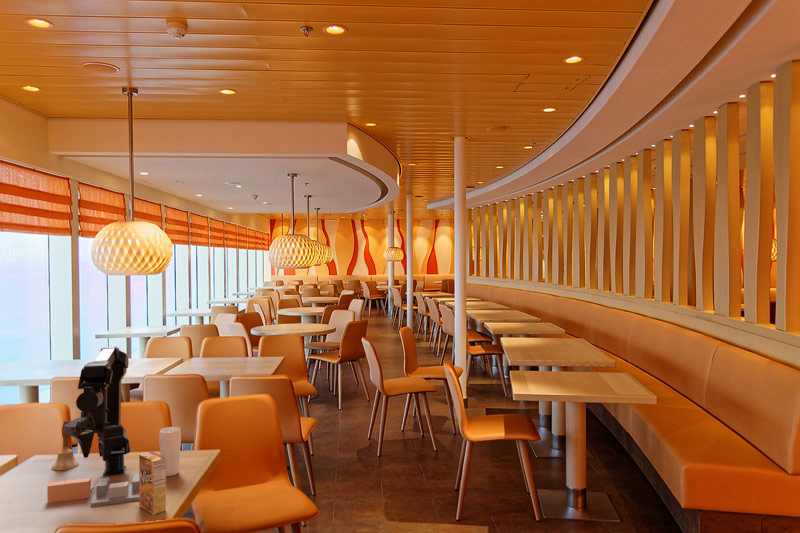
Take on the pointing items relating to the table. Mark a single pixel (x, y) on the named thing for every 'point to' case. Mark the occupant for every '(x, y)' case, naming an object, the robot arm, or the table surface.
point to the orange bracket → (69, 490)
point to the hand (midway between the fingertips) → (95, 459)
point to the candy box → (152, 482)
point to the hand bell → (65, 454)
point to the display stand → (115, 492)
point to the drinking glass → (170, 448)
